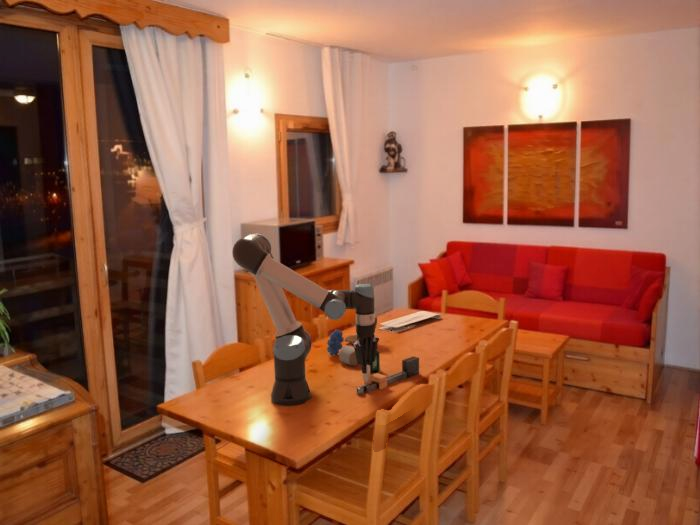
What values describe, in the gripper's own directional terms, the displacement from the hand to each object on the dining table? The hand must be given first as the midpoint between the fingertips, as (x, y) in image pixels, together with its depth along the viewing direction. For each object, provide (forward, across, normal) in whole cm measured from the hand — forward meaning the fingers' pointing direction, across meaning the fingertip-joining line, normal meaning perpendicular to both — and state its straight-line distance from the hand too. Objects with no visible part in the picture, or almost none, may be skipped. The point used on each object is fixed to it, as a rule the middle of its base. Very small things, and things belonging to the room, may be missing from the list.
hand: (366, 380), depth 240 cm
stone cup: (+3, +40, +43) cm, 59 cm away
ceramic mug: (+3, +15, +25) cm, 29 cm away
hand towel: (+3, +83, +50) cm, 97 cm away
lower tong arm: (+2, +10, -5) cm, 11 cm away
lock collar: (+2, +2, -2) cm, 4 cm away
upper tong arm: (+2, +8, -4) cm, 9 cm away
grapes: (+3, +18, +40) cm, 44 cm away
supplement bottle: (+3, +14, +11) cm, 18 cm away
